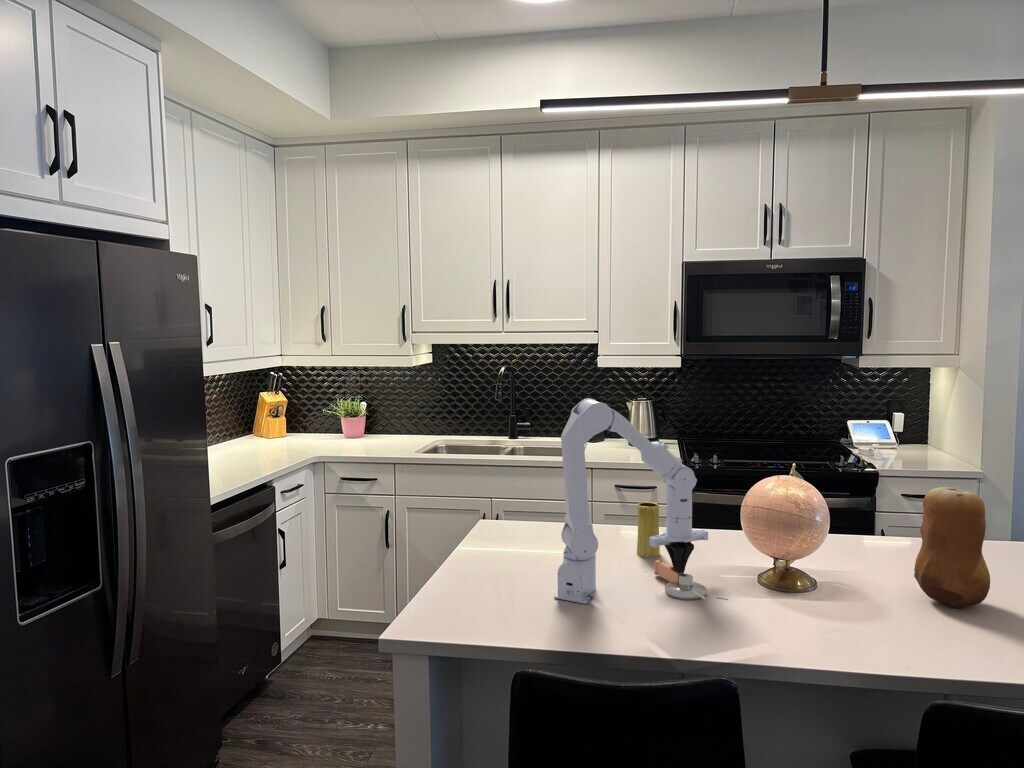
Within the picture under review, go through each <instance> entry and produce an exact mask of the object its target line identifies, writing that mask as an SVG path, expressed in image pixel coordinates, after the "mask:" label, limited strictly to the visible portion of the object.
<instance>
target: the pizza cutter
mask: <svg viewBox="0 0 1024 768" xmlns="http://www.w3.org/2000/svg"><path fill="white" fill-rule="evenodd" d="M653 564H654V568H653V569H654V570H653V571H654V575H658V576H659V577H660V578H662V579H664V580H666V581H667V582H668V583H666V584H665V586H664V593H665V594H666V595H667V596H668V597H671V598H674V599H677V600H681V601H682V600H683V601H696V600H701V599H702V600H706V599H707V598H706V596H707V595H708V592H707V590H708V588H707V587H706V586H705V585H704V584H702V583H698V582H697V581H694V579H693V577H694V576H693V575H692V574H691V573H690V574H689V573H684V574H683V572H681V571H679V570H677V569H675V568H674V567H673V565H672V566H671V565H669V564H668V563H666V562H664V560H662V559H655V560H654V563H653Z"/></svg>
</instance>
